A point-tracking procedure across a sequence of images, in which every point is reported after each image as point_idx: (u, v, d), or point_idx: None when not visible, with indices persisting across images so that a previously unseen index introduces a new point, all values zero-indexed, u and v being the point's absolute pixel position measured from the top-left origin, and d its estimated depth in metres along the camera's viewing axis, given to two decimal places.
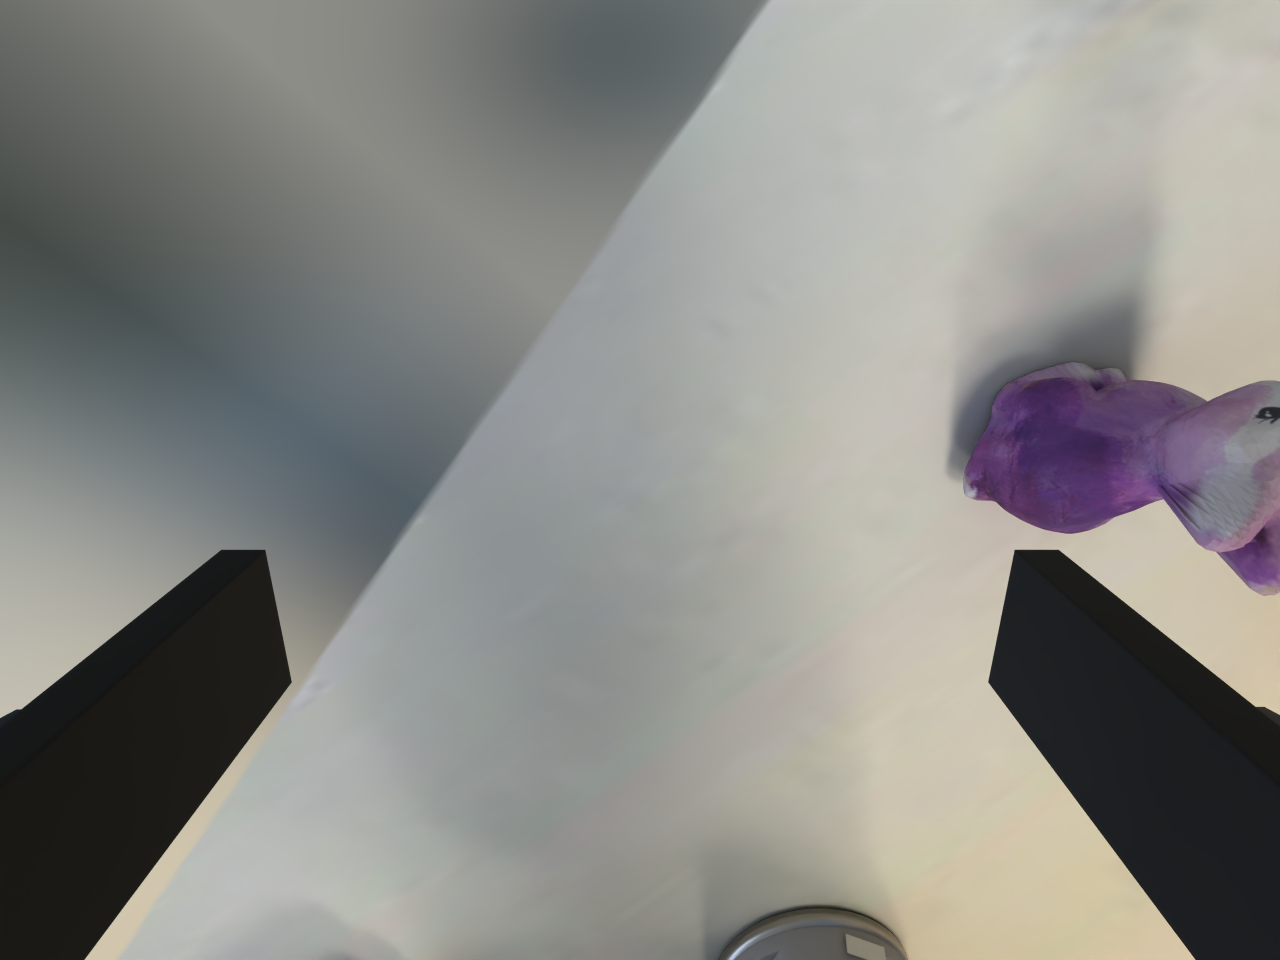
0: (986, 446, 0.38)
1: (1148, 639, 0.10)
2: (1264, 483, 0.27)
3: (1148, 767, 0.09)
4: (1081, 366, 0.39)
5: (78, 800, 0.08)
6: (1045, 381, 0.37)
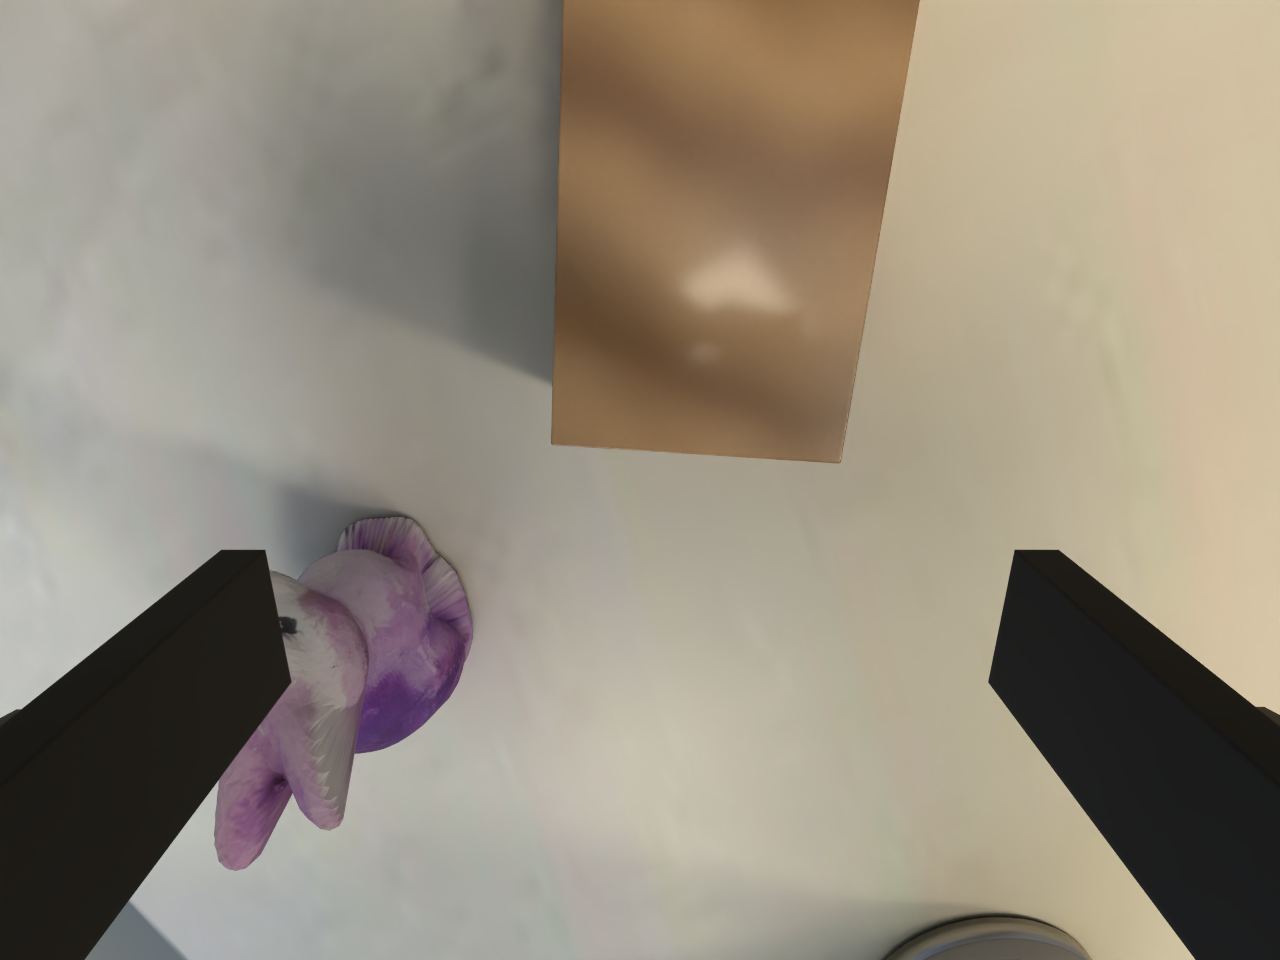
0: None
1: (1148, 639, 0.10)
2: None
3: (1147, 766, 0.09)
4: None
5: (78, 800, 0.08)
6: None
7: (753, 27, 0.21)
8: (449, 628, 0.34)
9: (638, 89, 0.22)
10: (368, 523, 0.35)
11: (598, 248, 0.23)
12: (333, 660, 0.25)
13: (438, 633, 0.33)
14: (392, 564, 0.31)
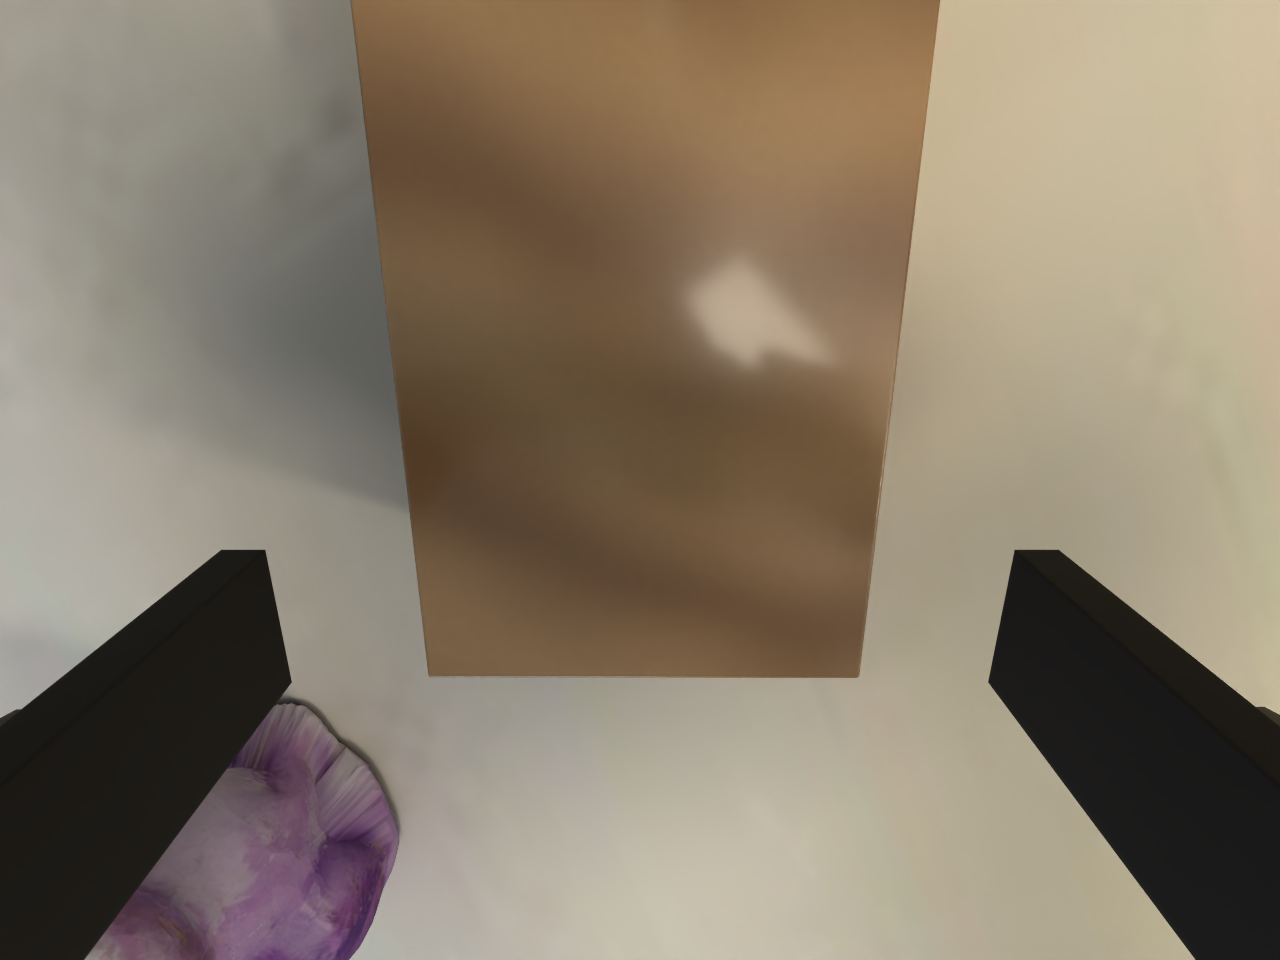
0: None
1: (1147, 639, 0.10)
2: None
3: (1147, 766, 0.09)
4: None
5: (78, 800, 0.08)
6: None
7: (669, 48, 0.13)
8: (355, 852, 0.26)
9: (493, 160, 0.13)
10: None
11: (461, 403, 0.15)
12: None
13: (336, 869, 0.25)
14: (260, 794, 0.23)
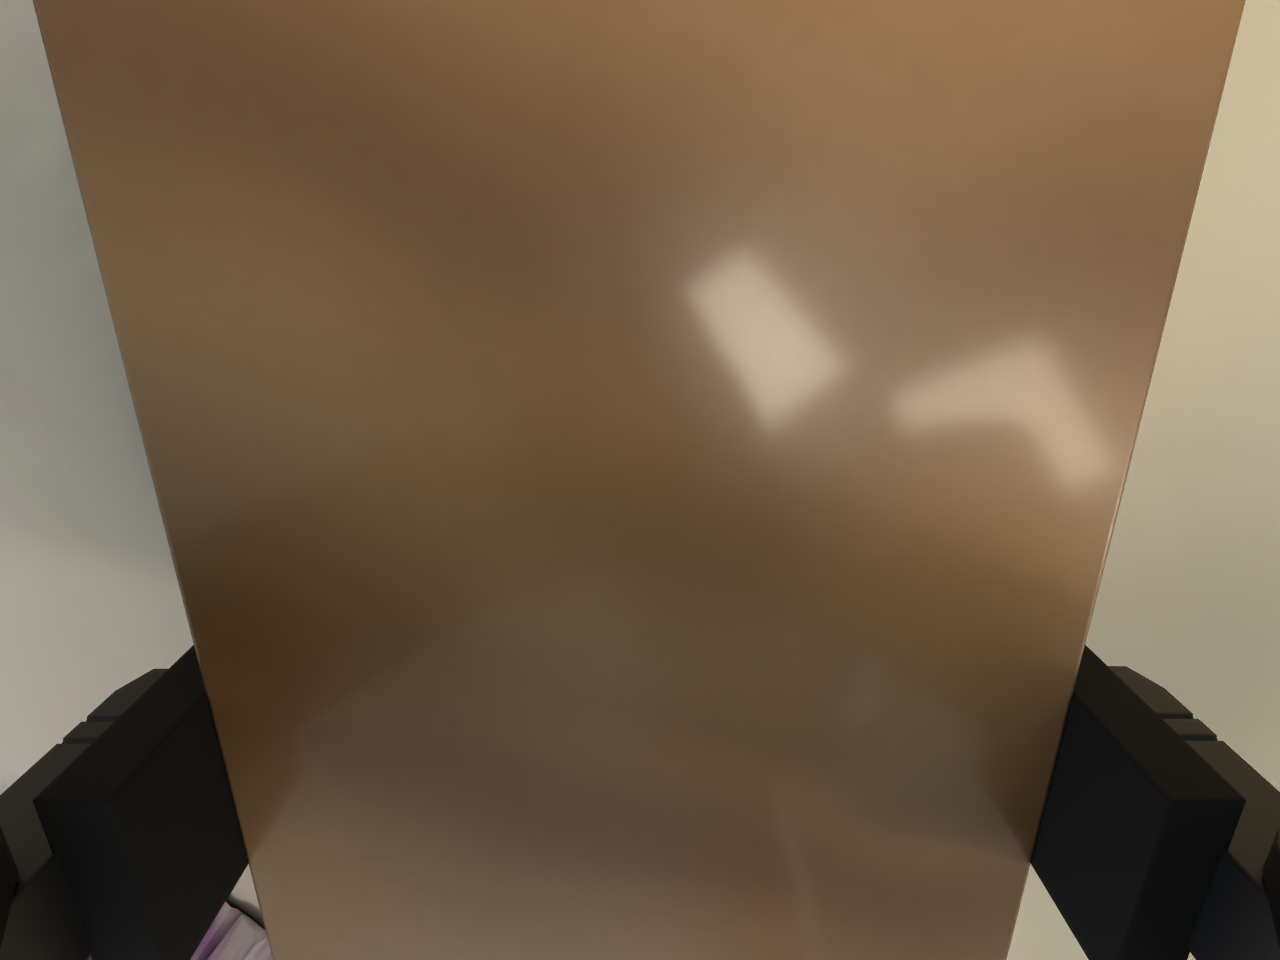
0: None
1: None
2: None
3: None
4: None
5: None
6: None
7: None
8: None
9: (314, 59, 0.06)
10: None
11: (289, 542, 0.08)
12: None
13: None
14: None
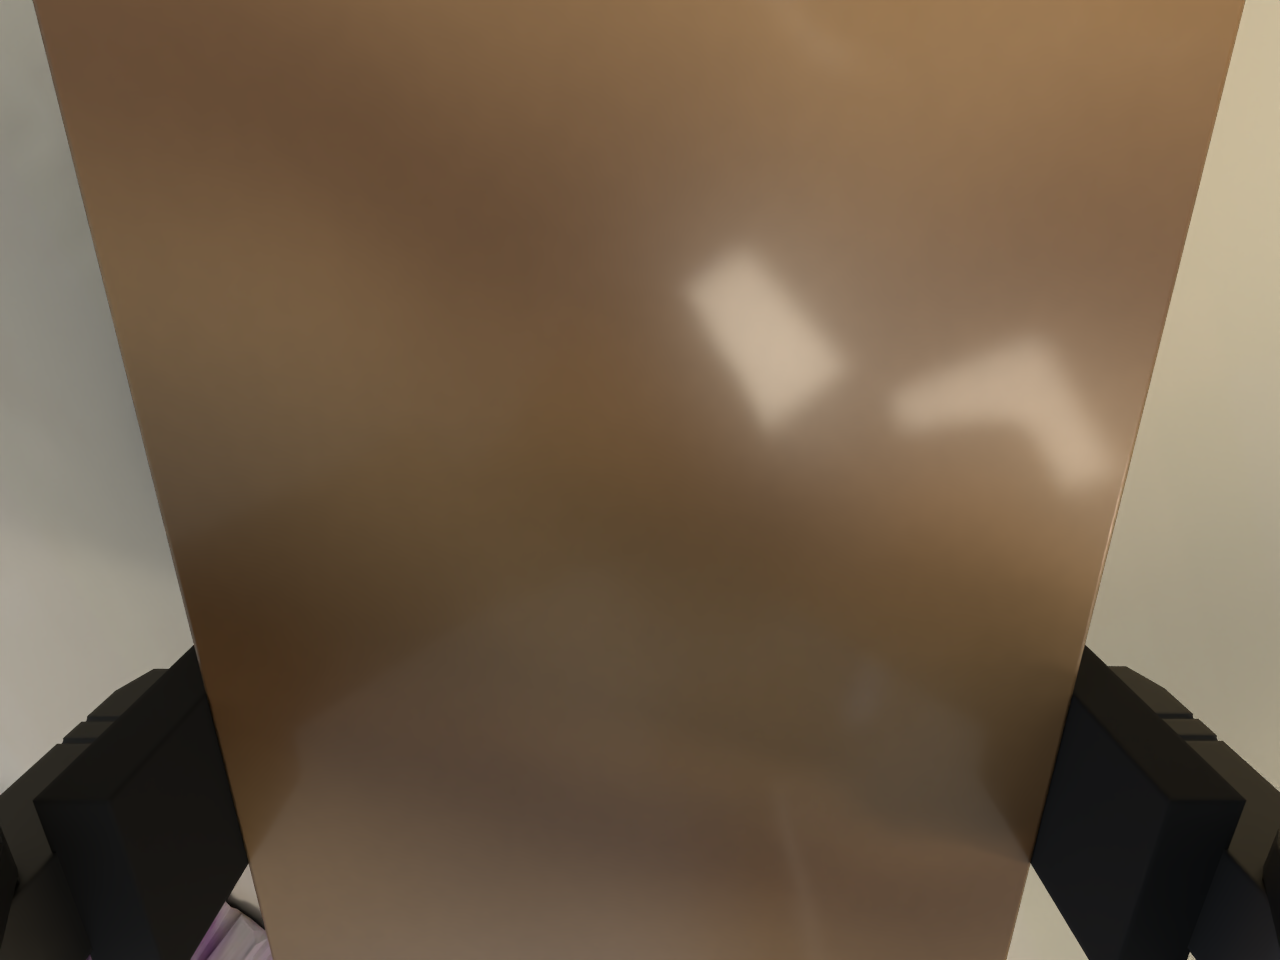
0: None
1: None
2: None
3: None
4: None
5: None
6: None
7: None
8: None
9: (314, 59, 0.06)
10: None
11: (290, 542, 0.08)
12: None
13: None
14: None
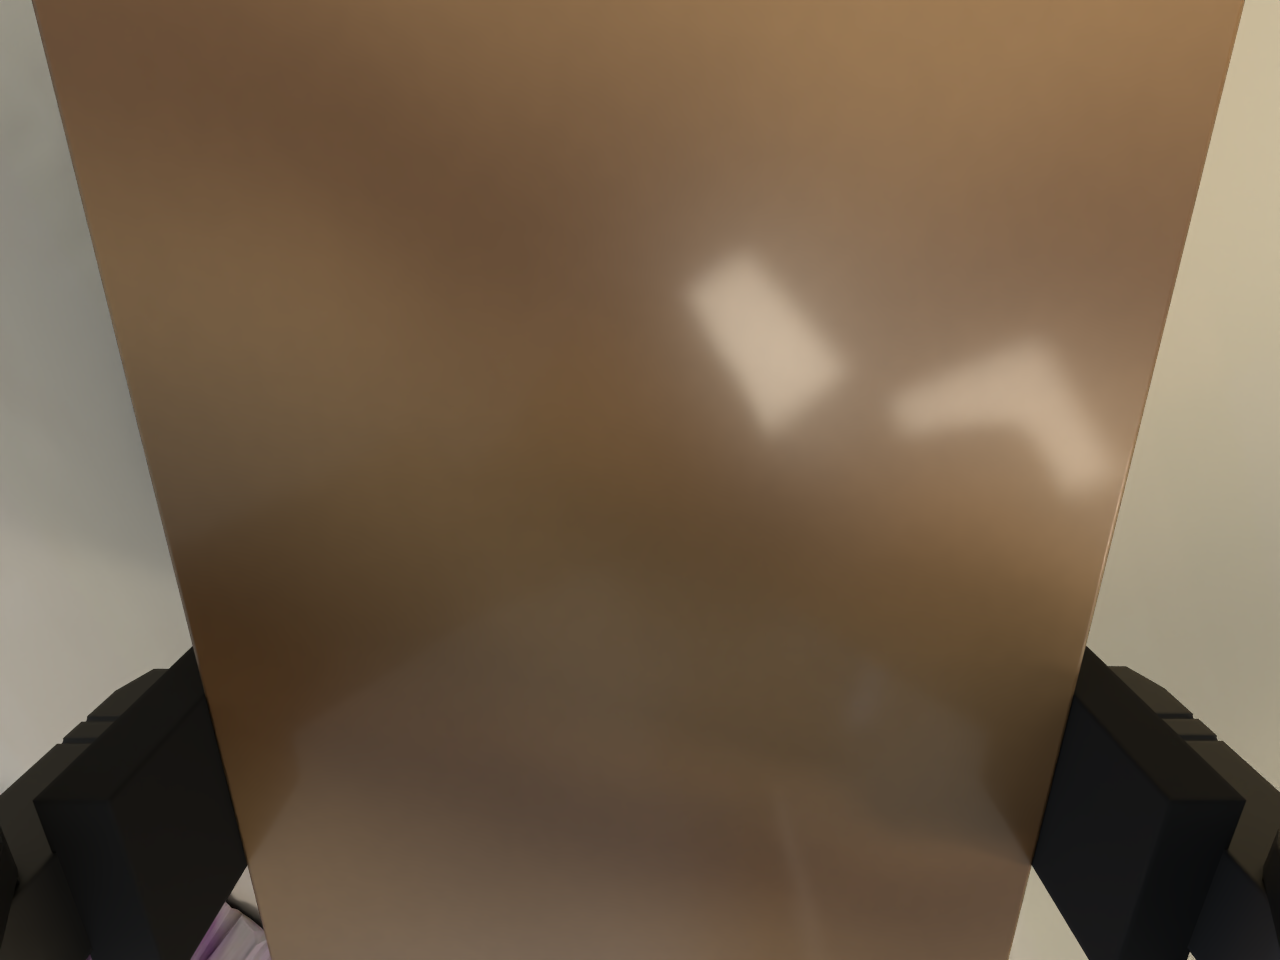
0: None
1: None
2: None
3: None
4: None
5: None
6: None
7: None
8: None
9: (313, 58, 0.06)
10: None
11: (289, 542, 0.08)
12: None
13: None
14: None
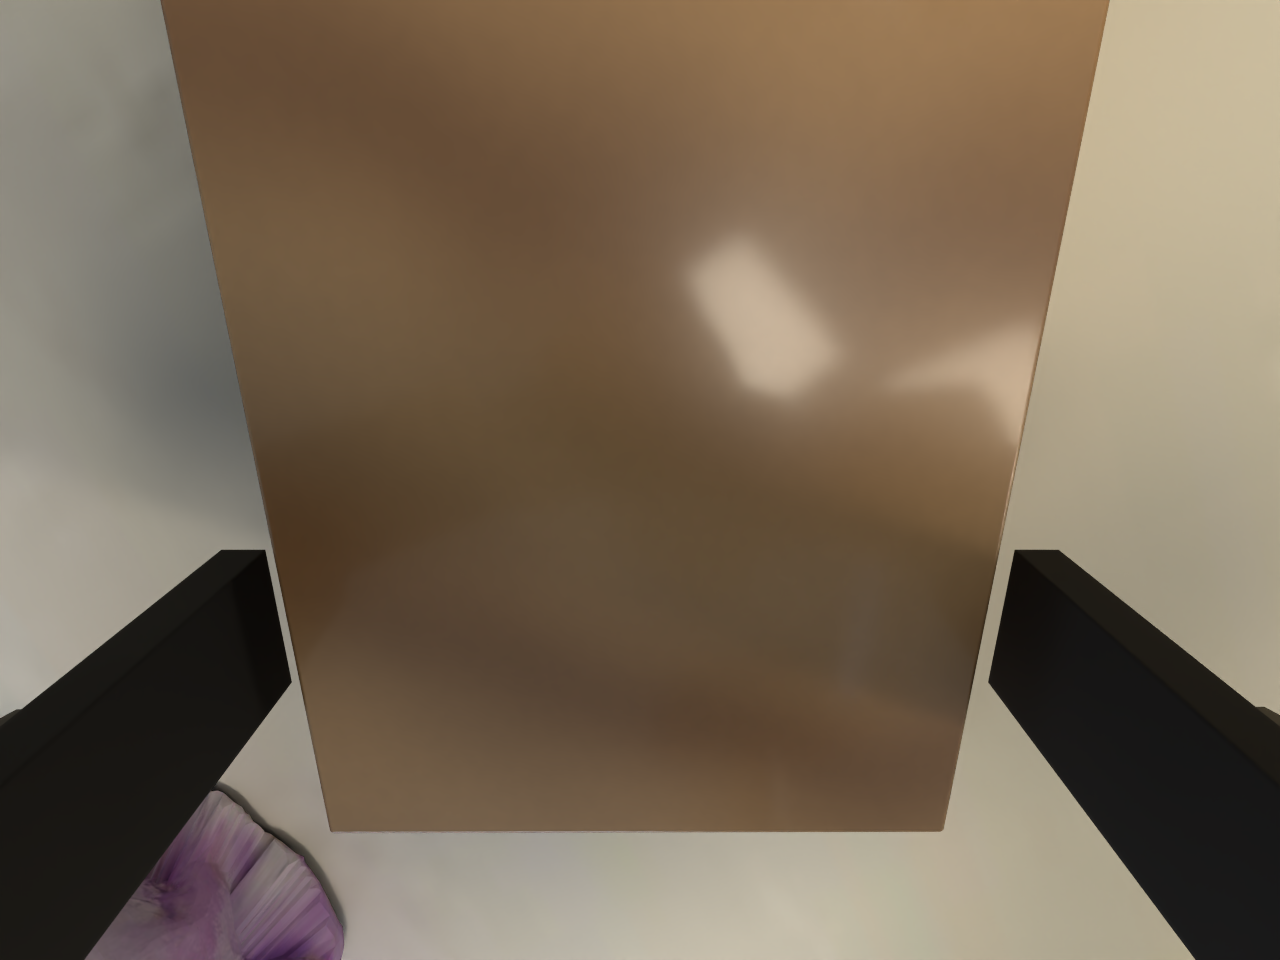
0: None
1: (1148, 639, 0.10)
2: None
3: (1148, 766, 0.09)
4: None
5: (78, 800, 0.08)
6: None
7: None
8: None
9: (382, 61, 0.08)
10: None
11: (352, 454, 0.10)
12: None
13: None
14: (148, 925, 0.18)
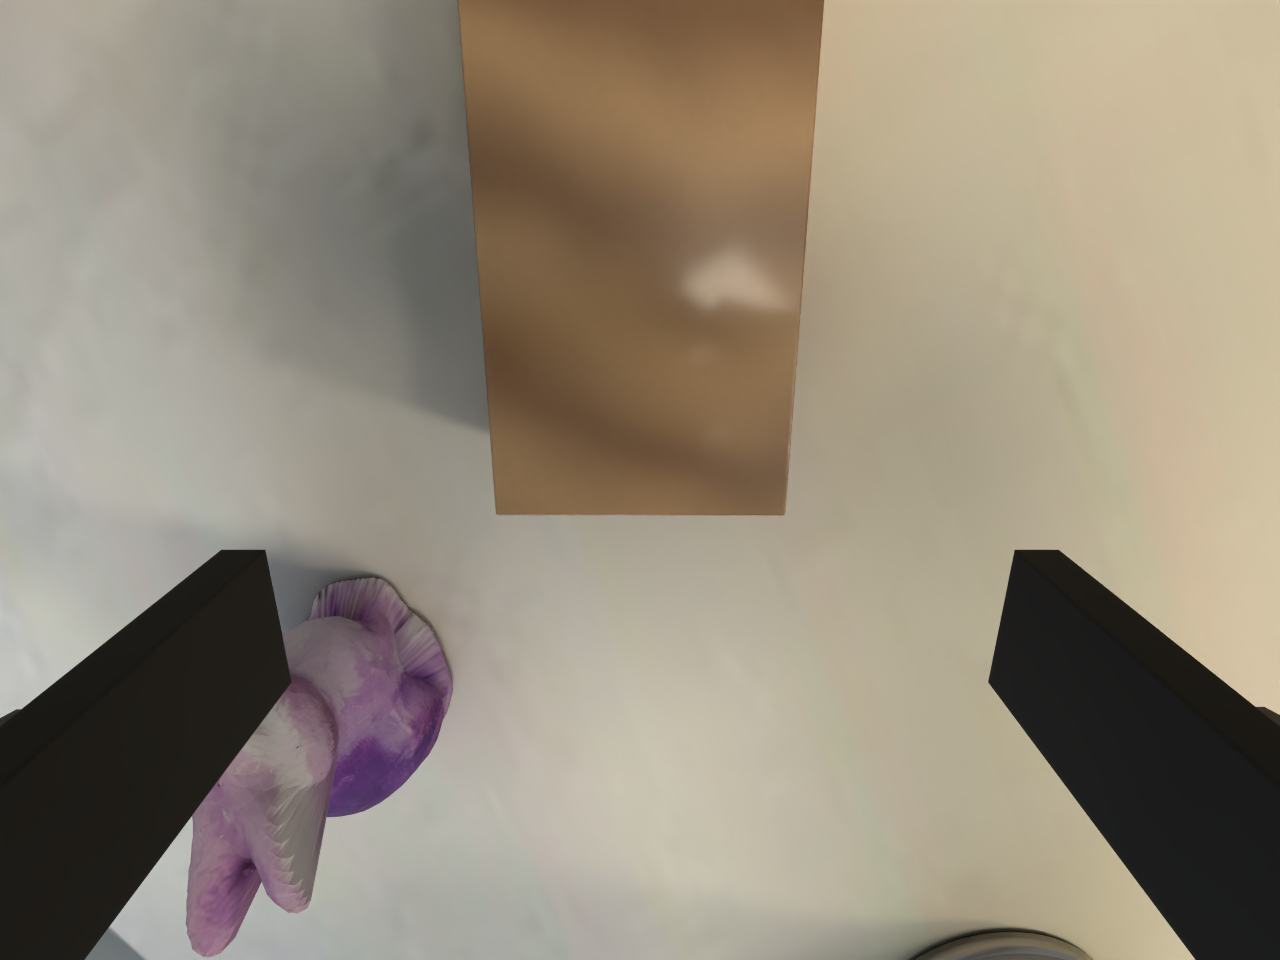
0: None
1: (1148, 639, 0.10)
2: (192, 851, 0.24)
3: (1148, 767, 0.09)
4: None
5: (78, 800, 0.08)
6: None
7: (655, 102, 0.21)
8: (424, 685, 0.34)
9: (547, 169, 0.22)
10: (340, 586, 0.35)
11: (523, 324, 0.23)
12: (296, 741, 0.26)
13: (412, 693, 0.33)
14: (360, 630, 0.32)
